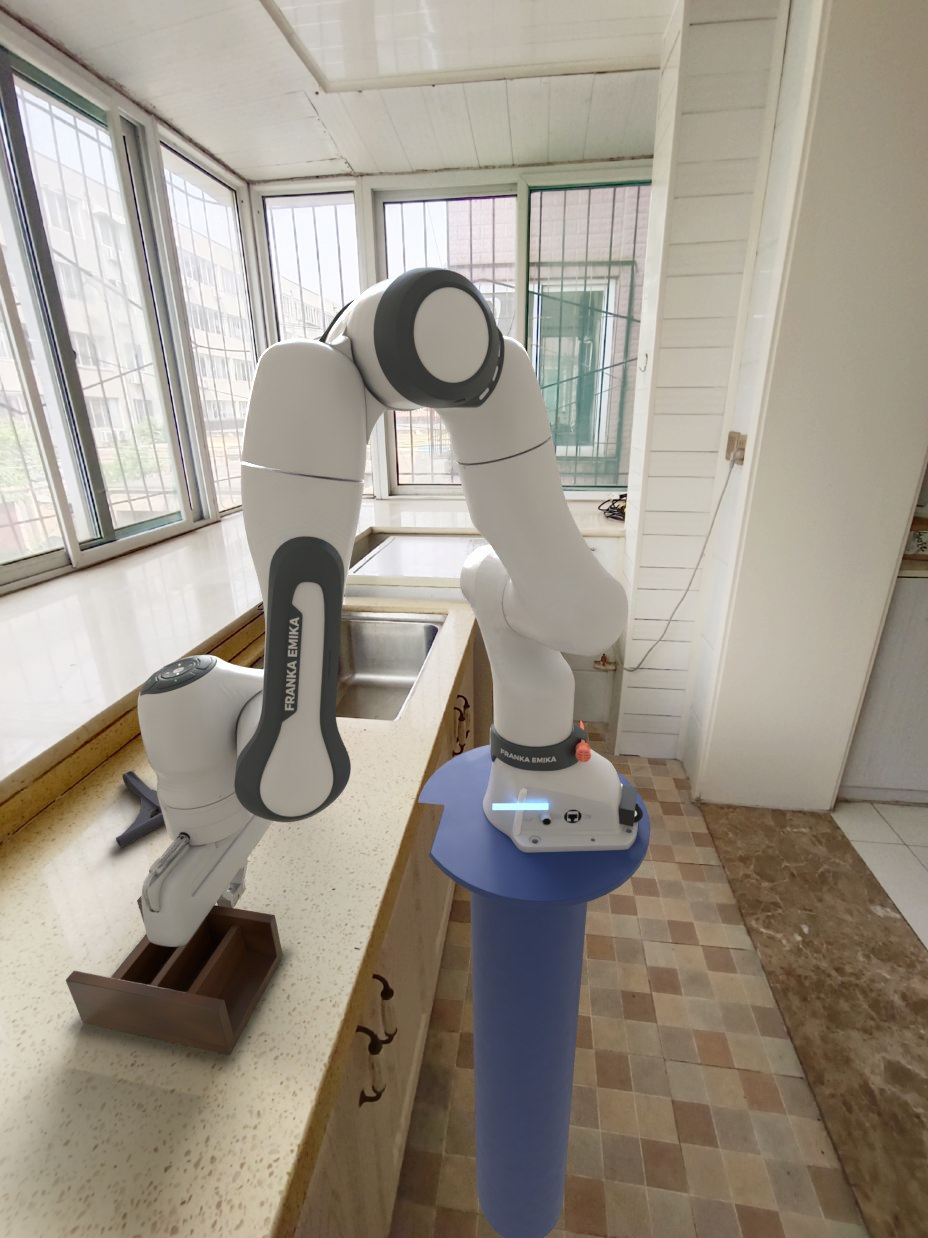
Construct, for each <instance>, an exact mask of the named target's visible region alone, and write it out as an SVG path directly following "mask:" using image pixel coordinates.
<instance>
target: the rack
mask: <svg viewBox="0 0 928 1238" xmlns="http://www.w3.org/2000/svg"><path fill="white" fill-rule="evenodd" d="M139 896H140V897H138V898H137V900H136V902H137V903H136V904H137V906H138V909H139V912H140V916H141V918H142V922H143V925H144V926H145V924H144V918H143V911H142V899H141V896H142V894H141V895H139ZM283 957H284V953H283V949H282V943H281V938H280V933H279V928H278V923H277V919H276V915H275V914H272V913H265V912H260V911H254V910H248V909H242V908H240V909H239V908H236V907H234V908H229V907H223V906H218V905H217V904H215V905H214V906H213V908H212V909H211V910H210V912H209V913H208V915H207V916H206V918H205V919H204V920H203V922H202V923H201V925H200V926H199V927H198V929H197V930H196V932H195V933H194V935H193V936H192V937H191V939H190V940H189V942H188V943H187V944H186V945H184V946H180V947H168V946H161V945H157V944H154V943H152V942H150V941H149V939H148V937H147V933H146V934H144V936H143V937H142V938H141V940H140V941H139V942H138V943H137V944H136V945H135V947H134V948H133V949H132V951H131V952H130V953H129V955H128V956H126V958H125V959H123V961H122V963H121V964H120V965H119V966H118V968H117V969H116V970H115V971H114V972H113V973H112V975H111V976H110V977H109V976H104V975H99V974H94V973H89V972H85V971H84V972H83V971H78V970H73V971H72V972H71V973H70V974H69V975H68V976H67V978H66V979H65V983H66V986H67V987H68V990H69V992H70V995H71V998H72V1000H73V1002H74V1005H75V1007H76V1010H77V1012H78V1015H79V1018H80V1021H81V1022H82V1024H84V1025H90V1026H94V1027H99V1028H103V1029H108V1030H112V1031H116V1032H122V1033H125V1034H130V1035H134V1036H138V1037H139V1036H140V1037H143V1038H149V1039H154V1040H158V1041H163V1042H168V1043H170V1044H171V1043H172V1044H177V1045H181V1046H186V1047H190V1048H195V1049H200V1050H204V1051H209V1052H212V1053H218V1054H223V1055H225V1056H231V1054H232V1053H233V1050H234V1048H235V1046H236V1044H237V1043H238V1041H239V1039H240V1037H241V1035H242V1033H243V1031H244V1030H245V1028H246V1026H247V1024H248V1022H249V1020H250V1019H251V1016H252V1015H253V1013H254V1011H255V1009H256V1007H257V1005H258V1004H259V1002H260V1000H261V999H262V996H263V994H264V992H265V990H266V989H267V987H268V985H269V983H270V981H271V979H272V977H273V975H274V973H275V972H276V970H277V968H278V966H279V964H280V962H281V961H282V959H283Z"/></svg>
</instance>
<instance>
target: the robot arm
mask: <svg viewBox="0 0 928 1238" xmlns="http://www.w3.org/2000/svg"><path fill="white" fill-rule="evenodd" d="M251 383H252V384H251V389H250V392H249V398H248V402H247V406H246V407H247V408H246V413H245V420H244V428H243V435H242V444H241V445H242V448H241V462H240V495H241V496H240V497H241V509H242V518H243V525H244V530H245V536H246V539H247V545H248V548H249V552H250V554H251V559H252V562H253V566H254V570H255V573H256V577H257V581H258V585H259V589H260V594H261V598H262V599H261V600H262V605H263V613H264V625H265V628H264V629H265V634H264V635H265V637H264V638H265V639H264V657H263V669H261V668H252V667H245V666H241V665H237V664H233V663H230V662H229V661H225V660H224V659H222V658H221V657H218V656H215V655H210V654H199V655H191V656H187V657H183V658H180V659H177V660H175V661H172V662H170V663H168V664H166V665H164V666H163V667H161V668H160V669H158V670H157V671H155V672H153V673H152V674H151V675H150V676H149V677H148V678H147V680H146V681H145V682H144V684H143V686H142V687H141V689H140V691H139V693H138V697H137V716H138V724H139V729H140V734H141V740H142V744H143V748H144V752H145V756H146V760H147V763H148V764H149V766H150V767H151V769H152V770H153V771H154V773H155V775H156V779H157V781H156V791H157V796H158V800H159V803H160V807H161V810H162V814H163V818H164V822H165V824H164V826H165V828H166V829H165V830H166V832H167V835H168V837H169V838H170V839H171V840H172V842H171V843H170V844H169V846H167V848H166V850H165V851H164V853H163V854H162V855H161V856H160V857H158V858H157V859H156V860H155V861H154V862H153V863H152V865H150V868H149V870H148V874H147V876H146V878H145V879H144V881H143V884H142V888H141V895H142V896H141V895H140V896H141V899H142V911H143V918H144V922H143V925H144V924H145V925H144V929H145V933H146V934H147V937H148V939H149V941H150V942H152V943H154V944H157V945H161V946H168V947H180V946H184V945H186V944H187V943H188V942H189V940H190V939H191V937H192V936H193V935H194V933H195V932H196V930H197V929H198V927H199V926H200V925H201V923H202V922H203V920H204V919H205V918H206V916H207V915H208V913H209V912H210V910H211V909H212V908H213V906H214V905H217V906H223V907H229V908H235V906H236V905H237V904H238V902H239V900H240V899H241V898H242V896H243V895H244V893H245V892H246V890H247V887H246V882H245V879H246V874H247V868H248V863H249V860H248V858H249V857H250V855H251V854H252V853H253V851H254V850H255V848H256V847H257V845H258V844H259V842H260V841H261V840H262V838H263V837H264V836H265V834H266V833H267V831H268V830H269V828H270V827H271V826H272V824H274V823H273V822H277V823H295V822H301V821H304V820H306V819H309V818H312V817H314V816H316V815H317V814H319V813H321V812H323V811H324V810H325V809H327V808H328V807H330V806H331V805H332V804H333V803H334V802H335V801H337V799H338V798H339V797H340V796H341V795H342V793H343V792H344V790H345V789H346V787H347V785H348V783H349V781H350V776H351V770H352V766H351V759H350V756H349V752H348V750H347V747H346V746H345V743H344V741H343V738H342V736H341V734H340V731H339V728H338V727H339V726H338V721H337V697H338V696H337V694H338V679H339V665H340V664H339V663H340V647H341V632H342V618H343V608H344V607H343V606H344V605H343V604H344V599H345V593H346V589H347V583H348V577H349V572H350V567H351V561H352V555H353V551H354V545H355V541H356V537H357V531H358V525H359V520H360V514H361V509H362V502H363V495H364V487H365V477H366V465H367V448H368V445H369V442H370V439H371V435H372V433H373V430H374V428H375V425H376V424H377V423H378V420H379V419H380V417H381V416H383V414H384V413H386V411H393V412H413V411H417V410H420V409H424V408H425V409H426V408H430V409H433V410H434V411H435V412H436V414H437V415H438V417H439V418H440V419H441V421H442V423H443V425H444V427H445V430H446V432H447V433H448V437H449V442H450V446H451V447H450V448H451V451H452V454H453V455H452V456H453V458H454V463H455V466H456V469H457V474H458V477H459V480H460V485H461V488H462V492H463V495H464V499H465V502H466V503H465V504H466V507H467V509H468V514H469V517H470V520H471V522H472V524H473V526H474V528H475V529H476V531H477V532H478V534H479V535H480V536H481V537H483V538H484V540H485V541H486V542H487V543H488V544H485V545H482V546H480V547H478V548H476V549H474V551H472V552H471V553H470V555H469V556H467V558H466V560H465V561H464V564H463V565H462V568H461V571H460V577H459V586H460V592H461V593H462V596H463V598H464V599H465V601H466V603H467V604H468V605H469V608H470V609H471V611H472V613H473V614H474V616H475V620H476V621H477V624H478V627H479V629H480V633H481V637H482V640H483V644H484V646H485V647H484V648H485V651H486V654H487V657H488V662H489V665H490V672H491V677H492V678H491V679H492V691H493V692H492V695H493V699H492V700H493V718H492V719H491V720H492V721H491V725H490V729H489V745H490V753H491V760H492V768H491V774H490V779H489V784H488V788H487V791H486V794H485V796H484V800H483V810H484V813H485V815H486V817H487V819H488V820H489V821H490V823H491V824H492V825H493V826H494V827H496V828H497V829H498V830H500V831H501V832H503V833H504V834H506V835H507V836H509V837H510V838H511V840H512V841H513V843H514V844H515V845H516V847H517V848H518V849H519V850H521V851H522V852H526V853H535V852H570V851H605V850H626V849H629V848H630V847H631V846H632V845H633V843H634V841H635V839H636V836H637V831H638V821H640V820H641V819H642V817H643V811H642V809H641V808H640V807H639V805H638V804H636V797H637V792H638V787H637V786H634V785H632V786H628V785H623V784H621V783H620V780H619V777H618V774H617V772H616V771H617V770H616V768H615V766H614V765H613V763H612V762H611V761H610V760H608V758H606V757H604V756H603V755H601V754H600V753H598V752H597V751H595V750H593V749H592V748H591V746H590V745H589V743H588V742H587V741H588V739H587V737H588V736H587V731H586V730H585V726H584V722H583V721H582V720H580V723H579V725H578V724H577V723H576V722H575V721H574V710H575V709H574V707H575V691H576V681H575V676H574V673H573V670H572V668H571V666H570V665H569V663H568V662H567V660H566V659H565V658H564V656H563V655H562V653H566V654H570V655H577V656H582V657H596V656H598V655H600V654H602V653H604V652H606V651H607V650H608V649H610V648H611V647H612V646H613V645H614V644H615V643H616V642H617V641H618V639H619V638H620V637H621V635H622V633H623V631H624V629H625V627H626V624H627V621H628V616H629V601H628V596H627V592H626V590H625V587H624V586H623V585H622V583H621V582H620V581H618V579H616V577H614V576H613V575H612V573H610V572H609V571H608V570H607V569H606V568H605V567H604V566H603V565H602V563H601V562H600V561H599V560H598V558H597V557H596V556H595V554H594V553H593V551H592V550H591V548H590V546H589V545H588V543H587V541H586V540H585V538H584V536H583V535H582V532H581V531H580V529H579V527H578V525H577V523H576V521H575V519H574V517H573V515H572V512H571V510H570V507H569V504H568V502H567V499H566V495H565V492H564V487H563V484H562V479H561V475H560V470H559V466H558V461H557V455H556V450H555V444H554V439H553V434H552V430H551V429H552V428H551V424H550V423H551V422H550V419H549V418H550V417H549V416H548V411H547V407H546V402H545V399H544V396H543V393H542V389H541V386H540V383H539V380H538V377H537V374H536V372H535V369H534V366H533V363H532V362H531V359H530V357H529V354H528V352H527V350H526V348H525V347H524V346H523V345H522V344H521V343H520V342H519V341H518V340H516V339H514V338H512V337H509V336H506V335H503V333H502V331H501V329H500V328H499V327H498V325H497V321H496V318H495V316H494V314H493V312H492V309H491V307H490V305H489V303H488V302H487V300H486V298H485V297H484V295H483V294H482V292H481V290H479V288H478V287H477V286H476V285H475V284H474V282H472V281H471V280H470V279H469V278H467V277H466V276H464V275H463V274H461V273H459V272H457V271H454V270H451V269H448V268H443V267H432V266H426V267H425V266H424V267H417V268H413V269H410V270H407V271H405V272H403V273H402V274H399V275H396V276H392V277H390V278H386V279H383V280H381V281H379V282H376V283H375V284H372V286H369V287H368V288H367V289H366V290H365V291H364V292H362V294H360V295H359V297H358V298H355V299H353V300H351V301H350V302H348V303H346V304H345V305H344V306H343V307H342V308H341V309H340V310H339V311H338V312H337V313H336V314H335V316H334V317H333V319H332V320H331V322H330V323H329V324H328V326H327V328H326V329H325V331H324V332H323V334H322V335H321V337H320V338H319V339H318V340H314V339H309V338H291V339H286V340H282V341H279V342H276V343H274V344H272V345H270V346H269V347H267V349H265V351H264V352H263V353H262V354H261V356H260V357H259V359H258V362H257V365H256V369H255V372H254V376H253V379H252V382H251ZM535 843H536V844H535Z"/></svg>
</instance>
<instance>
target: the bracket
mask: <svg viewBox="0 0 928 1238" xmlns="http://www.w3.org/2000/svg"><path fill="white" fill-rule="evenodd" d="M122 782H123V783H124V786H126V787H127V789H128V790H130V791H131V792H132V793H133V794H134V795H136V796H137V797H138V798H139V799H140V804H141V805H140V810H139V813H138V815H136V818H135V820H133V822H132V823H131V824H130V826H129V827H128V828H127V829H126V830H125V831H123V832H122V833H121V834H120V835H118V836H116V837H115V839H116V840H115V841H116V843H117V845H118V847H119V848H120V849H123V848H124V847H127V846H129V844H131V843H133V842H135V841H137V840H139V839H140V838H142V837H144V836H145V835H147V834H149V833H151V832H152V831H154V830H156V829H158V828H159V827H161V826H162V825H165V822H164V818H163V814H162V810H161V807H160V803H159V800H158V796H157V790H155V789H151V788H150V787H149V786H147V784H146V783H145V782H144V781H143V780H142V779H141V778H140V777H139V776H138V775H137V774H136V773H135V771H134V770H133V769H132V770H129V771H127V772H125V773H123V774H122ZM156 812H157V813H158V814H156V815H154V814H155V813H156ZM153 815H154V816H153ZM152 816H153V817H152Z"/></svg>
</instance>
